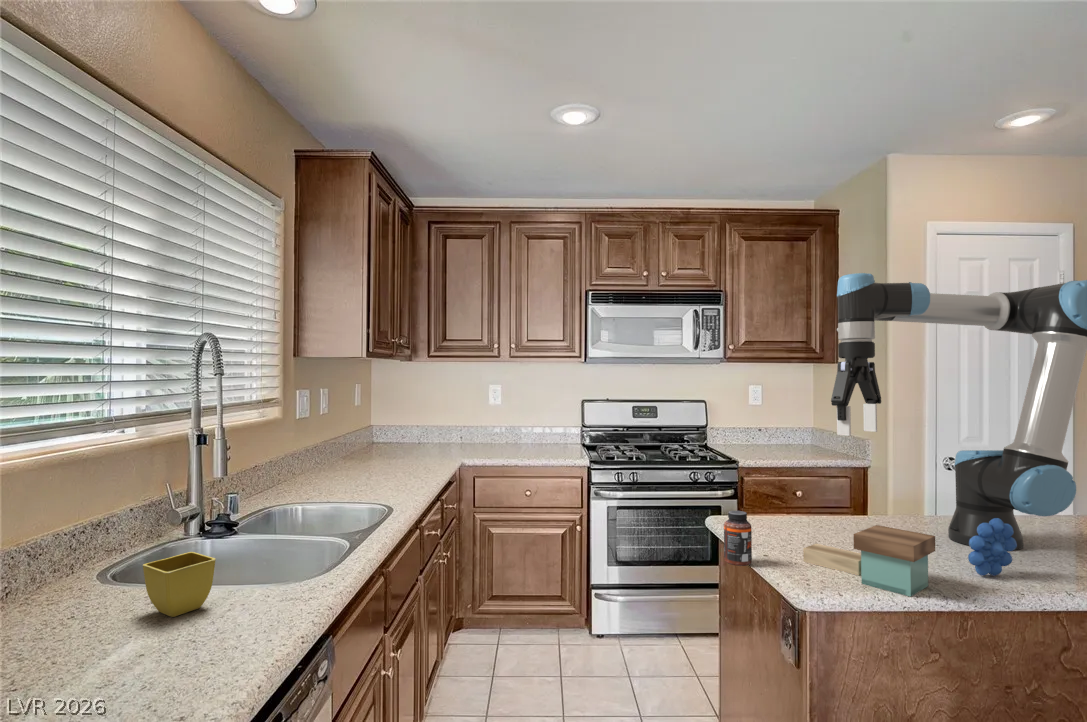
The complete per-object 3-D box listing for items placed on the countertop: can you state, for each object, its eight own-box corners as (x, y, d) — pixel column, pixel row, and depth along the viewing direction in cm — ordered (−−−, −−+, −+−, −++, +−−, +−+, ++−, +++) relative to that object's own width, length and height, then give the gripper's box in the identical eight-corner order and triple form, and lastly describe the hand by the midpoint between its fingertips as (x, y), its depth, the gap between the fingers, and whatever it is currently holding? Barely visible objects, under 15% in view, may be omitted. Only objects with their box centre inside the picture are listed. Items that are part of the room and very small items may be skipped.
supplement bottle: (753, 567, 130) (753, 516, 131) (725, 566, 131) (725, 514, 132) (749, 559, 136) (749, 509, 136) (722, 557, 137) (722, 508, 138)
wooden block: (816, 556, 138) (816, 543, 138) (871, 569, 129) (870, 555, 129) (803, 561, 134) (803, 548, 134) (858, 575, 125) (858, 561, 125)
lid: (876, 539, 127) (876, 524, 127) (935, 550, 119) (935, 535, 119) (853, 548, 121) (853, 533, 121) (914, 562, 112) (913, 546, 112)
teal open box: (880, 574, 126) (879, 540, 126) (928, 585, 119) (927, 550, 119) (861, 583, 120) (861, 549, 120) (910, 596, 113) (910, 559, 113)
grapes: (995, 567, 130) (994, 512, 130) (1026, 577, 124) (1025, 519, 124) (951, 571, 127) (950, 515, 128) (981, 582, 121) (980, 522, 121)
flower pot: (165, 624, 102) (166, 572, 102) (141, 614, 107) (141, 563, 107) (216, 607, 110) (217, 558, 110) (191, 598, 114) (191, 551, 114)
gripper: (863, 343, 148) (864, 428, 148) (813, 340, 132) (814, 435, 132) (895, 342, 142) (897, 430, 142) (848, 338, 127) (849, 438, 126)
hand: (857, 433), depth 137 cm, fingers open, 13 cm apart
